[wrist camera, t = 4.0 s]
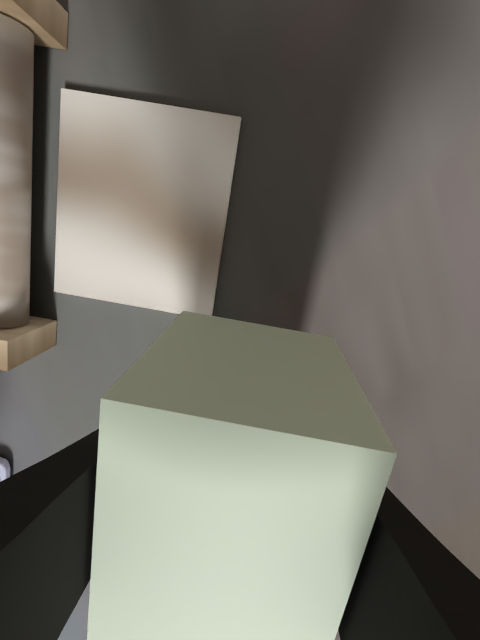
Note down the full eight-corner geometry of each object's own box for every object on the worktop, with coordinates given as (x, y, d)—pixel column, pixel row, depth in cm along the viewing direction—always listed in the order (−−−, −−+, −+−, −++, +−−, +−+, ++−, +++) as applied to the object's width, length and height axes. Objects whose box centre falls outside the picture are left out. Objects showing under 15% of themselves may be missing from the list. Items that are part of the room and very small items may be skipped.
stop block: (295, 487, 13) (316, 692, 8) (165, 462, 13) (86, 644, 8) (333, 337, 12) (396, 453, 6) (183, 310, 12) (100, 398, 6)
